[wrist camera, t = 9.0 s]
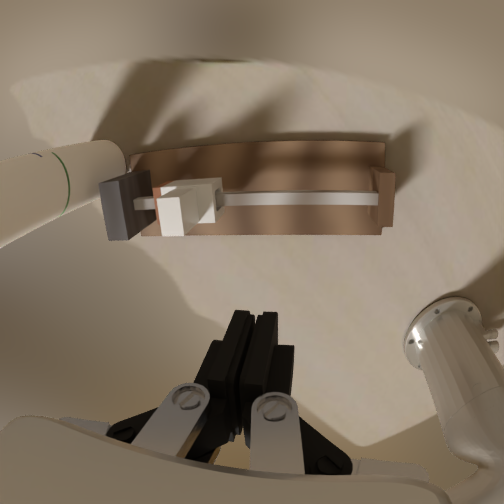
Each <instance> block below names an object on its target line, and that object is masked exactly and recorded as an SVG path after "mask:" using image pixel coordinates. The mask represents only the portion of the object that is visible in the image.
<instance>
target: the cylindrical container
mask: <svg viewBox="0 0 504 504" xmlns="http://www.w3.org/2000/svg"><path fill="white" fill-rule="evenodd" d="M125 173H126V163H125V158H124V155H123V153H122V151H121V150H120V148H119V147H118V146H117V145H116V144H115V143H113V142H112V141H109V140H96V141H90V142H84V143H78V144H73V145H67V146H62V147H57V148H52V149H47V150H43V151H38V152H34V153H30V154H25V155H21V156H17V157H13V158H9V159H6V160H2V161H0V248H2V247H3V246H5V245H7V244H9V243H10V242H12V241H14V240H16V239H18V238H19V237H21V236H23V235H25V234H27V233H29V232H30V231H32V230H34V229H36V228H38V227H40V226H42V225H44V224H46V223H48V222H50V221H52V220H54V219H56V218H58V217H60V216H62V215H64V214H66V213H68V212H70V211H73V210H75V209H77V208H79V207H81V206H83V205H85V204H88V203H90V202H92V201H94V200H97V199H99V198H101V197H100V191H99V185H98V183H101V182H104V181H107V180H109V179H112V178H115V177H118V176H121V175H124V174H125Z"/></svg>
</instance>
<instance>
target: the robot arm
mask: <svg viewBox="0 0 504 504" xmlns="http://www.w3.org/2000/svg"><path fill="white" fill-rule="evenodd" d="M497 337H498V331H497V329H493V330H489V331H486V330H485V329H484V328H483V326H482V317H481V313H480V311H479V309H478V308H477V307H476V305H475V304H474V303H473V302H472V301H470V300H468V299H466V298H462V297H450V298H446V299H442V300H440V301H438V302H435V303H434V304H432V305H430V306H429V307H427V308H426V309H425V310H424V311H422V312H421V313H420V314H419V315H418V316H417V317H416V318H415V320H414V321H413V322H412V324H411V325H410V327H409V329H408V331H407V333H406V336H405V339H404V352H405V355H406V358H407V360H408V361H409V363H410V364H411V365H412V366H413V367H415V368H416V369H419V370H423V373H424V375H425V378H426V381H427V384H428V387H429V389H430V392H431V395H432V398H433V401H434V404H435V407H436V411H437V414H438V417H439V420H440V424H441V427H442V430H443V434H444V437H445V441H446V444H447V446H448V448H449V450H450V452H451V453H452V454H453V455H454V456H455V457H457V458H458V459H460V460H463V461H465V462H468V463H471V464H475V465H477V466H478V469H477V470H476V472H475V473H474V474H472V475H471V476H469V477H467V478H466V479H465V480H463V481H462V482H460V483H458V484H456V485H454V486H453V487H451V488H449V489H447V490H445V491H444V490H443V489H442V488H440V487H438V486H436V485H434V484H432V483H429V475H428V472H427V471H426V469H425V468H423V467H422V466H420V465H417V464H413V463H401V462H390V461H382V460H374V459H367V458H361V460H356V459H350V458H349V457H348V455H347V454H346V453H344V452H343V451H342V450H340V449H339V448H338V447H336V446H335V445H334V444H333V443H331V442H330V441H329V440H328V439H326V438H325V437H324V436H322V435H321V434H320V433H319V432H318V431H316V430H315V429H314V428H313V427H311V426H310V425H309V424H308V423H307V422H305V421H304V420H303V419H302V418H301V417H299V415H298V406H297V403H296V401H295V400H294V399H293V398H292V397H291V387H292V378H293V365H294V345H278V313H277V312H263V315H258V317H257V320H256V324H255V316H254V315H251V314H250V311H244V310H235V312H234V314H233V316H232V319H231V321H230V324H229V326H228V329H227V331H226V334H225V336H224V338H223V341H220V340H213V341H212V343H211V345H210V347H209V350H208V352H207V354H206V356H205V358H204V360H203V363H202V365H201V367H200V370H199V372H198V374H197V376H196V378H195V380H194V383H185V384H181V385H178V386H177V387H175V388H173V389H172V390H171V391H170V392H169V394H168V395H167V396H166V398H165V399H164V401H163V402H162V403H161V405H160V406H159V407H158V408H155V409H152V410H150V411H147V412H145V413H142V414H139V415H136V416H134V417H131V418H128V419H125V420H123V421H120V422H118V423H116V424H114V425H110V424H109V422H100V421H92V420H84V419H78V418H71V417H63V418H60V419H55V418H50V417H46V416H35V415H25V416H20V417H17V418H15V419H14V420H12V421H11V422H9V423H8V424H7V425H6V426H5V427H4V428H3V429H2V430H1V431H0V504H504V368H503V367H502V365H501V363H500V362H499V360H498V358H497V357H496V355H495V353H497V352H498V350H499V343H498V341H497V340H496V341H489V342H487V341H486V340H487V339H496V338H497ZM242 428H244V435H245V443H246V446H247V447H248V448H249V449H250V470H247V469H239V468H231V467H225V466H220V465H214V462H215V460H216V458H217V456H218V455H219V452H220V449H221V445H224V444H226V443H227V442H228V441H232V442H234V439H235V435H240V434H241V432H242Z"/></svg>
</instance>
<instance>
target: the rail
mask: <svg viewBox="0 0 504 504" xmlns="http://www.w3.org/2000/svg"><path fill="white" fill-rule="evenodd" d="M130 164H131V172H130V173H127V174H124V175H121V176H118V177H115V178H112V179H109V180H107V181H104V182H101V183H98V185H99V191H100V197H101V203H102V209H103V214H104V220H105V225H106V230H107V235H108V240H109V241H112V240H129V239H131V238H132V237H133V236H135V235H136V234H138V233H139V232H140V231H141V236H162V232H161V226H160V219H159V213H158V206H157V198H159V197H160V196H161V188H160V187H162V186H165V185H167V184H169V183H171V182H173V181H176V180H189V179H203V178H220V177H222V188H223V192H215V199H216V206H224V211H225V212H224V214H223V215H222V216H221V217H220V218H219V219H218V220H217V222H216V223H197V224H196V225H195V226H194V227H193V228H192V229H191V230H190V231H189V232H188V233H187V234H186V235H381V233H382V227H393V214H394V198H395V175H396V173H394V172H392V171H390V170H388V169H386V168H385V143H383V142H368V141H335V140H297V141H264V142H244V143H229V144H216V145H205V146H194V147H185V148H176V149H168V150H160V151H152V152H145V153H138V154H133V155H130Z"/></svg>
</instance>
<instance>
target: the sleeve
mask: <svg viewBox="0 0 504 504" xmlns="http://www.w3.org/2000/svg"><path fill="white" fill-rule="evenodd" d="M160 188H161V196H160V197H159V198H157V206H158V213H159V219H160V226H161V232H162V236H185V235H186V234H187V233H188V232H189V231H190V230H191V229H192V228H193V227H194V226H195V225H196V224H197V223H216V222H217V220H218V219H219V218H220V217H221V216H222V215H223V214H224V212H225V211H224V206H216V199H215V192H223V188H222V177H220V178H203V179H189V180H176V181H173V182H171V183H169V184H167V185H165V186H162V187H160Z"/></svg>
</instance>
